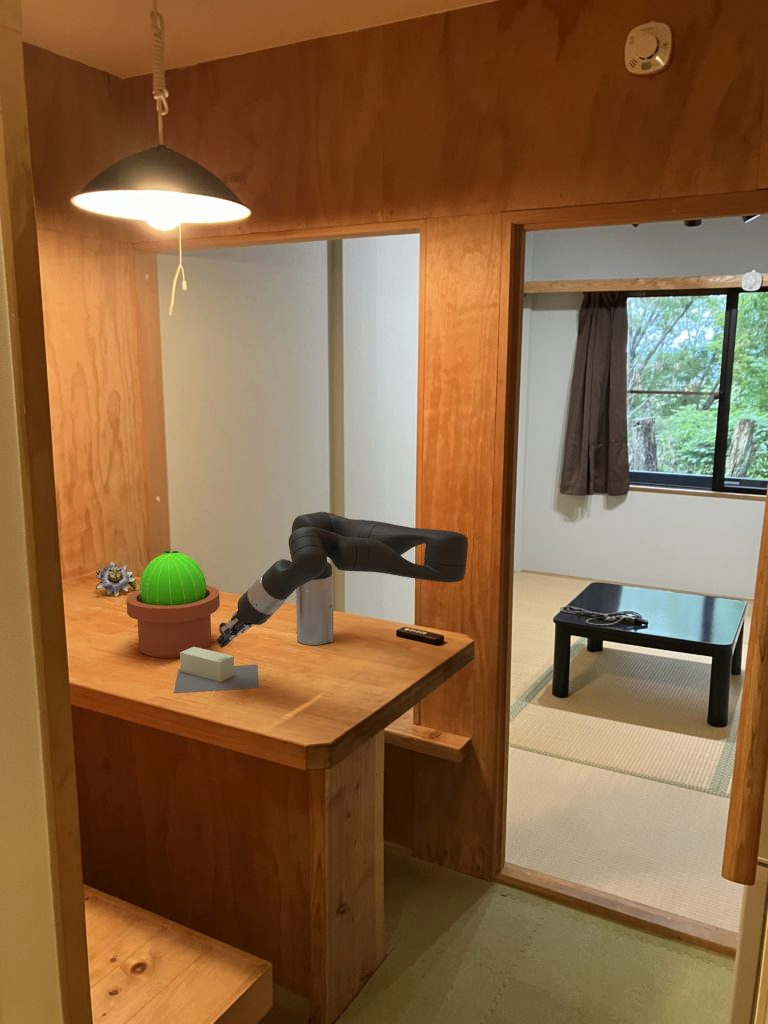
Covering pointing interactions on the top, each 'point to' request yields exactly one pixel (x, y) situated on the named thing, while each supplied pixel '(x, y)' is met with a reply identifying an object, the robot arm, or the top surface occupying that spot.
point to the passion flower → (115, 579)
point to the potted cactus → (173, 606)
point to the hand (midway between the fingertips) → (220, 643)
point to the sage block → (207, 664)
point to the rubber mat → (241, 680)
